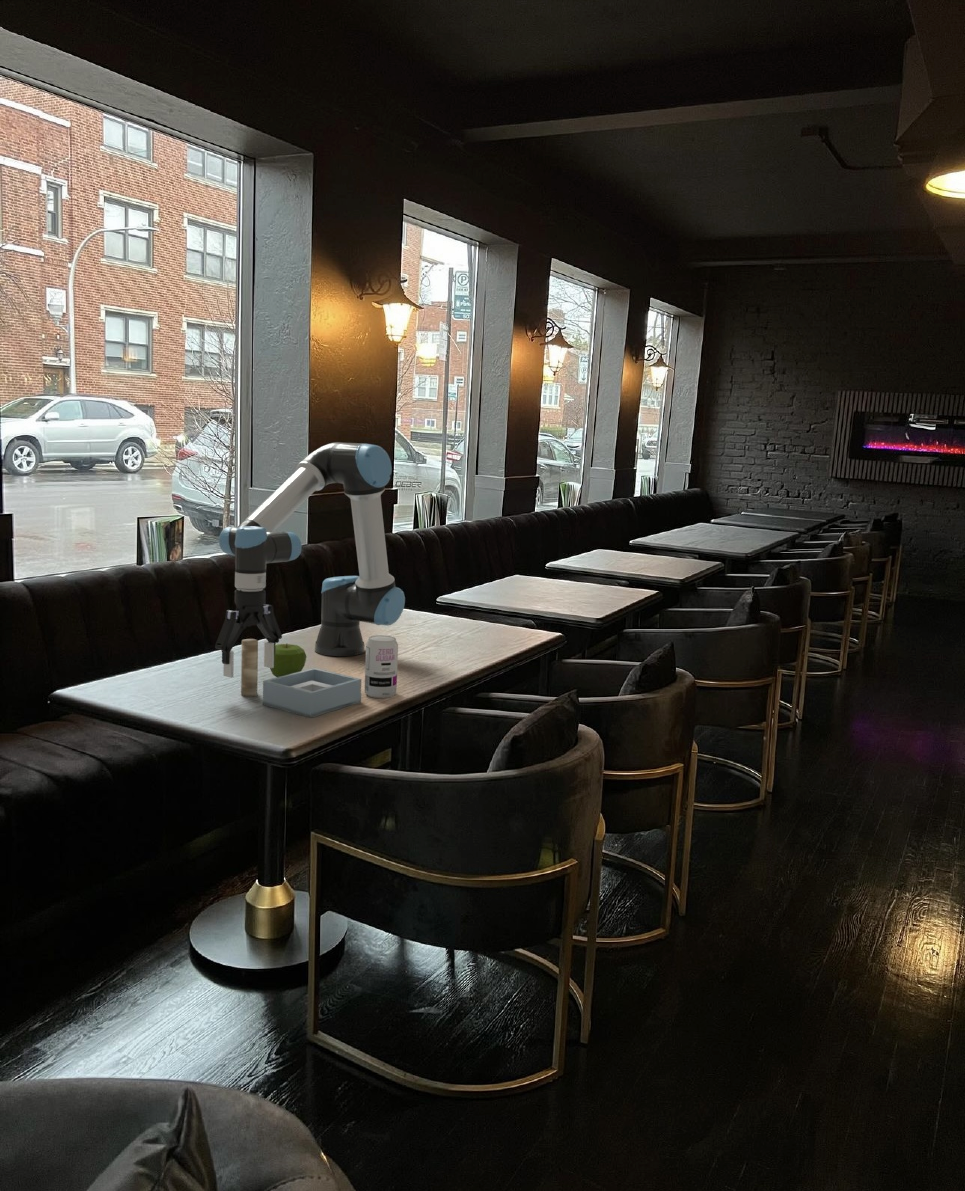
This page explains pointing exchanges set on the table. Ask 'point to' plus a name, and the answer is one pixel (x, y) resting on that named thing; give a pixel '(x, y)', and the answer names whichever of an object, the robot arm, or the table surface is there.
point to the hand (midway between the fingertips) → (249, 671)
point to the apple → (288, 659)
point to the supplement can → (381, 666)
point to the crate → (311, 692)
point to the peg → (249, 667)
